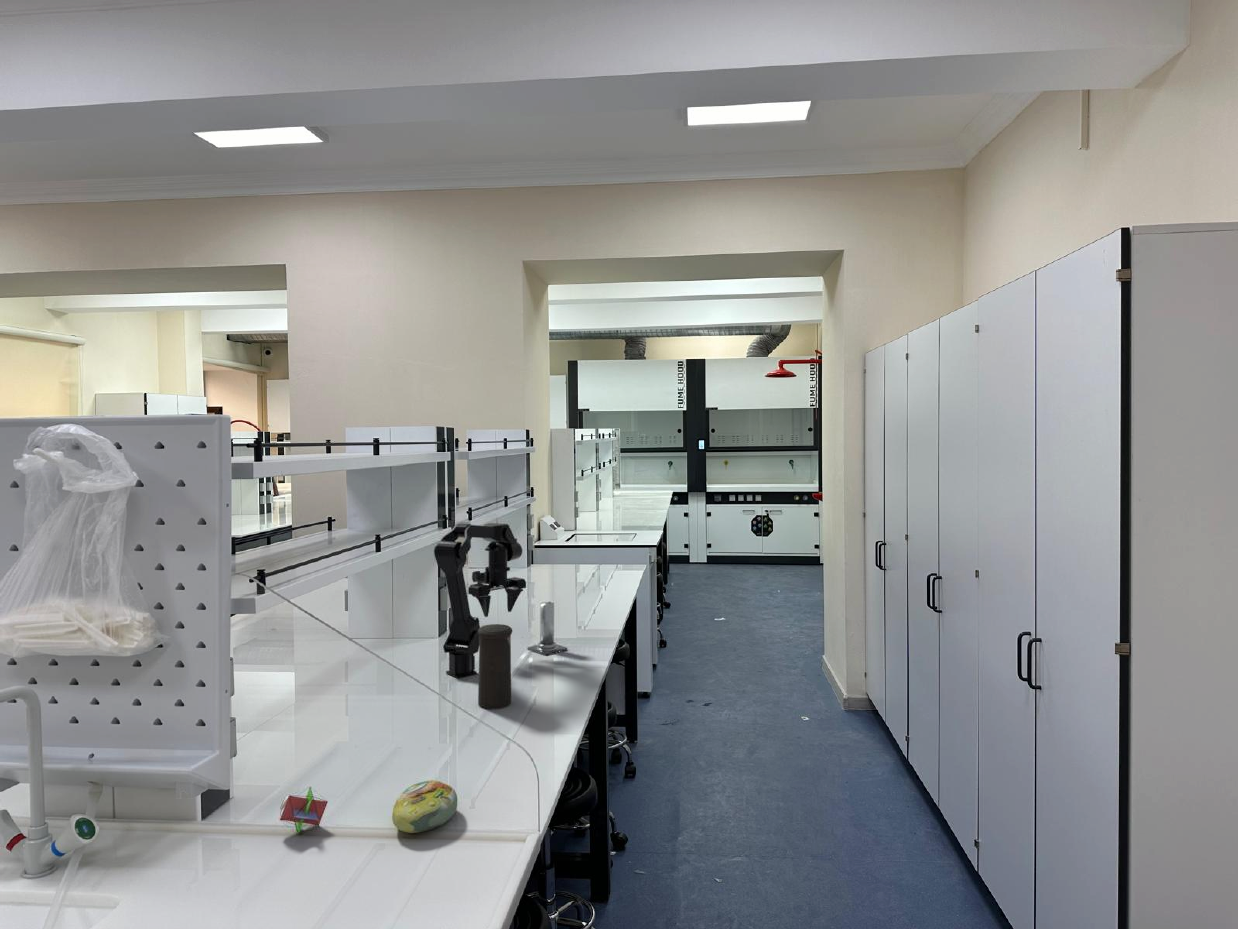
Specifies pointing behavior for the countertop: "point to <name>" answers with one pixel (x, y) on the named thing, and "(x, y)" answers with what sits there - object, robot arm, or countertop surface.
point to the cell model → (424, 806)
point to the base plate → (545, 652)
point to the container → (494, 666)
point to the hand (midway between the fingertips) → (497, 614)
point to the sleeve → (546, 626)
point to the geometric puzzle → (303, 810)
